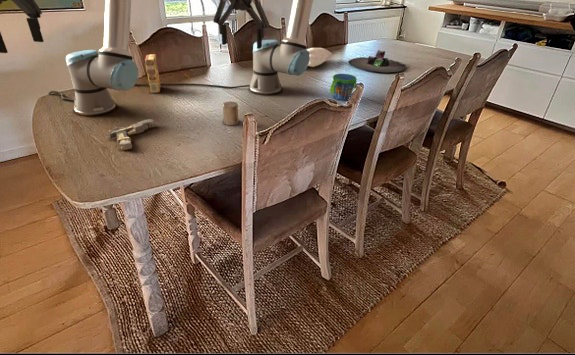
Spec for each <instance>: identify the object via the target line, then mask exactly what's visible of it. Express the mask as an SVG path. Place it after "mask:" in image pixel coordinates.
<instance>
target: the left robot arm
mask: <svg viewBox="0 0 575 355" xmlns="http://www.w3.org/2000/svg"><path fill="white" fill-rule="evenodd" d="M7 1H8V0H0V5H2V4H3V2H7ZM10 1H11V2H13V3H14V5H15V6H17V7H18V8H19V9H20V10H21V11H22V13H24V14H25V15H26V16H27V17H26V22H27V25H28V29H29V31H30V34H31V37H32V40H33V42H35V43H44V42H45V41H44V38H43V35H42V32H41V25H40V21H39V19H40V18H41V17H42V15H43V12H42V10H41V8H40V7H39V5H38V4H37V2H36V1H35V0H10ZM104 2H105V4H104V27H103V28H104V29H103V46H102V47H101V48H100V49H99V50H97V49H85V50H78V51H73V52H70V53H68V54H67V55H66V56H65V62H66V67H67V70H68V73H69V77H70V81H71V83H72V86H73V87H72V88H73V90H74V98H69V97H65V94H64V93H62V92H60V91H57V90H50V91H48V93H47V95H51V94H57V95H60V98H61V99H62V100H64V101H71V102H74V105H73V109H74V112H75V113H76V114H78V115H80V116H87V117H90V116H91V117H94V116H101V115H105V114H108V113H111V112H112V111H114V110H115V109H116V108H117V106H116V102H115V100H114V98H113V97H112V95H111V93H110V92H109V89H111V90H114V91H130V90H131V89H133V88H134V85H135V84H137V82H138V79H139V76H140V74H139V73H140V71H139V67H138V64H137V63H136V62H135V61H134V60H133V58H134V56H133V55H132V53H131V52H130V35H131V34H130V33H131V16H132V15H131V14H132V0H104ZM8 53H9V52H8V48H7V46H6V43H5V41H4V38H3V36H2V31H0V54H8Z"/></svg>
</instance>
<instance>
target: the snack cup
mask: <svg viewBox="0 0 575 355" xmlns="http://www.w3.org/2000/svg"><path fill="white" fill-rule="evenodd" d="M332 79H333V80H332V82H331V85H330V89H329V92H330V94H332V95H334V96H333V97H334V98H335V99H336V100H339V101H347V100H350V99H349V97H350V95H351V96H352V94H353V90H355V89H356V88H355V86H356V87H357V80H358V79H357V77H356V76H355V75H353V74H349V73H335V74H333V76H332ZM351 93H352V94H351ZM350 98H351V97H350Z"/></svg>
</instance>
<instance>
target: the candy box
mask: <svg viewBox="0 0 575 355" xmlns="http://www.w3.org/2000/svg"><path fill="white" fill-rule="evenodd" d="M157 62H158V61H157V55H156V54H146V56H145V59H144V63H145V68H146V73H147V79H148V84H149V85H148V86H149V90H150V93H151V94H152V93H153V94H154V93H160V92H161V87H162V85H160V84H161V79H160V73H159V66H158V63H157Z"/></svg>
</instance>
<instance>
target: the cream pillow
mask: <svg viewBox="0 0 575 355" xmlns="http://www.w3.org/2000/svg"><path fill="white" fill-rule="evenodd" d="M307 50H308V51H309V54H310V60H309V64H308V66H307V67H310V68H315V67H317V66H320V65H322V64H323V63H325V62H326V61H327V60H328V59H330V58H331V57H332V56H333V54H332V53H333V52H331V51H329V50H328V49H326V48H323V47H310V48H307Z"/></svg>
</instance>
